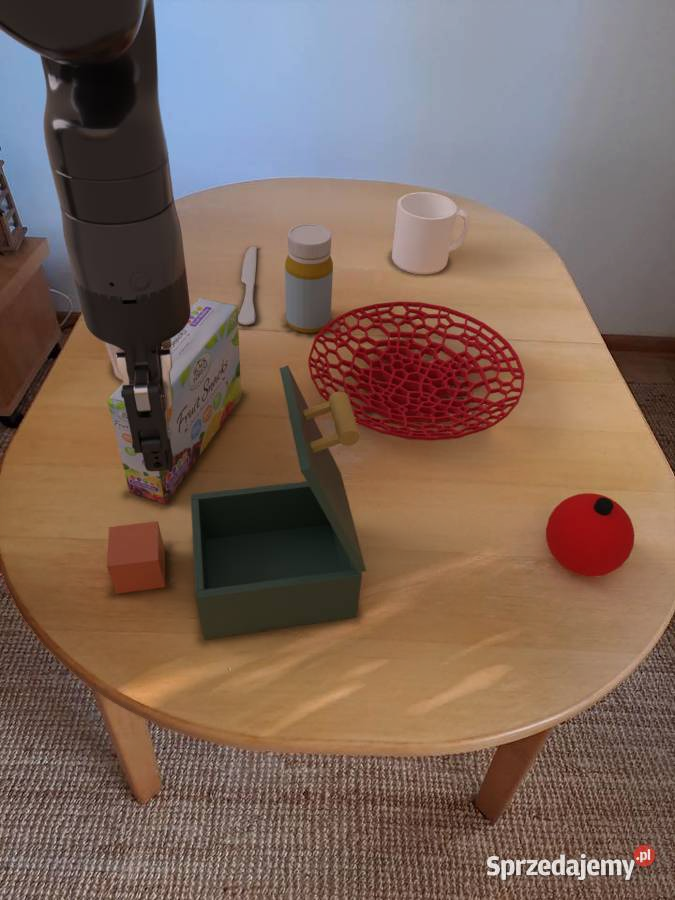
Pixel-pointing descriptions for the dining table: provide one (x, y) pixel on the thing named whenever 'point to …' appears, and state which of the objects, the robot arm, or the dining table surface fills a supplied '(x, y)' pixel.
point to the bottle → (308, 278)
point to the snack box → (188, 397)
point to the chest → (268, 561)
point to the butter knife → (248, 287)
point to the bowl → (417, 373)
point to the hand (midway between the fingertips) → (159, 431)
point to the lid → (325, 458)
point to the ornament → (590, 534)
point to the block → (136, 557)
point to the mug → (425, 232)
